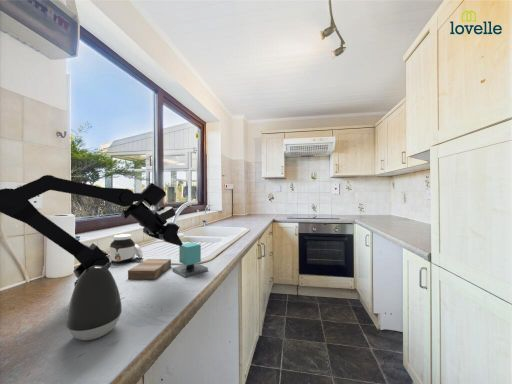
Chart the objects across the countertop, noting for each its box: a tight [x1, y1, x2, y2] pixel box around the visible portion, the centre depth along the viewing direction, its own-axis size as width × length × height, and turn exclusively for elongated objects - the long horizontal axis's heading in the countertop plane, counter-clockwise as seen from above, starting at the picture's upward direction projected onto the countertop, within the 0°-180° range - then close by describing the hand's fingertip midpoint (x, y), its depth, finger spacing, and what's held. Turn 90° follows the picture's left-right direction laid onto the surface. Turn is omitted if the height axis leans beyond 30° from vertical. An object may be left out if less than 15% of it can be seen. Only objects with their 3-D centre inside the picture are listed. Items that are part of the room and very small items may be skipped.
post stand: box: [171, 263, 209, 278], centre depth 91 cm, size 10×10×7 cm
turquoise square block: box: [178, 241, 202, 265], centre depth 91 cm, size 6×6×7 cm
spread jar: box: [109, 233, 144, 264], centre depth 106 cm, size 12×11×12 cm
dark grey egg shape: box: [65, 262, 123, 341], centre depth 52 cm, size 10×10×15 cm
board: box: [127, 258, 172, 280], centre depth 90 cm, size 14×10×3 cm
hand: (175, 243), depth 87 cm, fingers open, 9 cm apart
